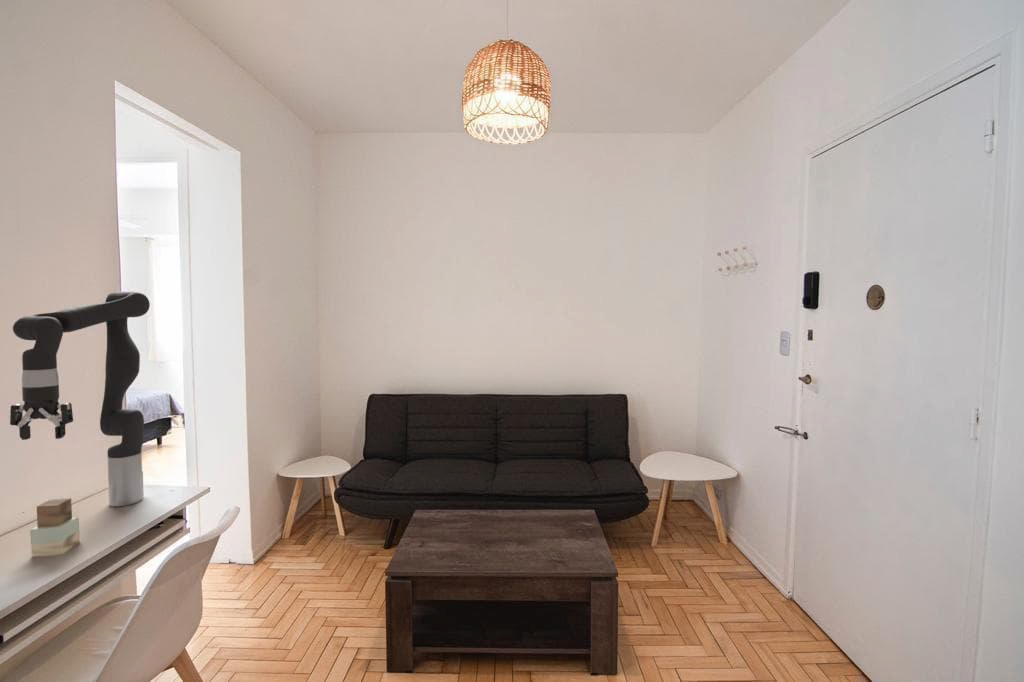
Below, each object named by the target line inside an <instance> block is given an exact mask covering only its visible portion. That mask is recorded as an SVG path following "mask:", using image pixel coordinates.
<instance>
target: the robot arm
mask: <svg viewBox="0 0 1024 682" xmlns="http://www.w3.org/2000/svg"><path fill="white" fill-rule="evenodd" d="M150 305H151V303H150V300H149V298H148V297H147V296H146V294H144V293H142V292H138V291H112V292H110V293H108V295H107V296H106V299H105V302H102V303H101V302H100V303H93V304H85V305H77V306H72V307H67V308H64V309H61V310H57V311H53V312H52V311H51V312H44V313H37V314H30V315H26V316H23V317H20V318H19V319H17V320H16V321H15V322H14V323H13V326H12V331H13V334H14V335H15V336H16V337H17V338H19V339H21V340H24V341H35V343H34V346H33V348H30V349H26V350H24V351H23V352H22V355H21V356H22V357H21V360H22V361H21V363H22V374H21V390H22V392H21V393H22V401H23V402H24V403H15V404H13V405H12V404H11V406H10V411H9V412H10V413H9V414H10V416H9V420H10V421H9V424H10V426H16V427H18V428H19V438H20V439H21V440H22V441H26V440H29V439H30V438H32V437H31V436H32V435H31V425H30V424H31V423H32V422H33V421H34V420H38V419H40V420H48V421H49V422H51V423H52V424H54V426H55V427H54V436H55V439H56V440H59V439H63V438H64V437H65V436H66V425H67V424H70V423H73V422H74V414H73V406H72V403H71V402H67V403H60V402H59V399H60V385H59V384H60V383H59V381H60V380H59V373H58V368H57V367H58V363H57V354H58V351H59V350H60V349H59V348H60V345H61V342H62V340H63V339H62V338H63V336H64V335H63V334H64V333H71V332H76V331H78V330H82V329H86V328H88V327H92V326H97V325H99V324H103V323H106V354H105V378H104V379H105V380H104V393H103V400H102V404H101V411H100V418H99V419H100V420H99V429H100V431H101V432H102V434H103V435H104V436H108V437H111V436H112V437H113V436H114V437H121V443H118V444H116V445H113V446H110V447H109V448H108V449H107V472H108V473H107V474H108V475H107V476H108V477H107V478H108V479H107V480H108V505H109V506H110V507H125V506H129V505H133V504H136V503H139V502H141V501H142V500H143V499H144V494H145V493H144V471H143V463H142V462H143V461H142V460H143V459H142V458H143V457H142V451H143V450H142V448H143V443H144V435H145V433H144V432H145V419H144V415H143V413H142V412H141V410H139V409H131V408H130V409H126V408H125V409H123V401H124V398H125V395H126V393H127V391H128V389H129V388H130V387H131V385H132V384H133V382H135V380H136V378H137V377H138V375H139V373H140V365H141V363H140V362H141V354H140V351H139V349H138V347H137V345H136V344H135V342H134V341H133V339H132V337H131V335H130V333H129V329H128V319H129V318H139V317H141V316H144V315H146V313H148V311H149V310H150ZM58 410H59V411H58ZM23 411H25V413H24V415H23Z"/></svg>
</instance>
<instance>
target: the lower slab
mask: <svg viewBox="0 0 1024 682" xmlns="http://www.w3.org/2000/svg"><path fill="white" fill-rule="evenodd" d="M80 537H81V536H80V529H79V530H78V531H77V532H75V533H74V534H72V535H70V536H69V537H67V538H66V539H64V540H62V541H61V542H47V543H32V544H31V543H30V545H31V546H30V547H31V558H33V557H34V558H35V557H46V556H47V557H49V556H58V555H59V556H61V555H63V554H65V553H66V552H68V551H69V550H71V549H72V548H73V547H75V546H76V545H78V544H80V542H81V540H80Z"/></svg>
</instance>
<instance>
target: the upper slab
mask: <svg viewBox="0 0 1024 682" xmlns="http://www.w3.org/2000/svg"><path fill="white" fill-rule="evenodd" d="M79 517H80V516H72V519H70V520H68V521H67V522H65V523H63V524H62V525H60V526H54V527H39V528H38V527H37V525H35V526H34V527H33V528H30V531H29V532H30V533H29V534H30V545H31V544H32V543H47V542H61V541H62V540H64V539H66V538H67V537H69V536H70V535H72V534H74V533H75V532H77V531H78V530H79V531H80V518H79Z"/></svg>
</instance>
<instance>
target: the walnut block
mask: <svg viewBox="0 0 1024 682" xmlns="http://www.w3.org/2000/svg"><path fill="white" fill-rule="evenodd" d="M72 506H73V505H72V498H71V497H68V498H66V497H65V498H50V499H48V500H47V501H45V502H42V503H41V504H38V505H37V506H36V521H37V522H36V524H37V525H36V526H37V527H38V528H39V527H54V526H60V525H62V524H63V523H65V522H67V521H68V520H70V519H72V517H73V513H72Z"/></svg>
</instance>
